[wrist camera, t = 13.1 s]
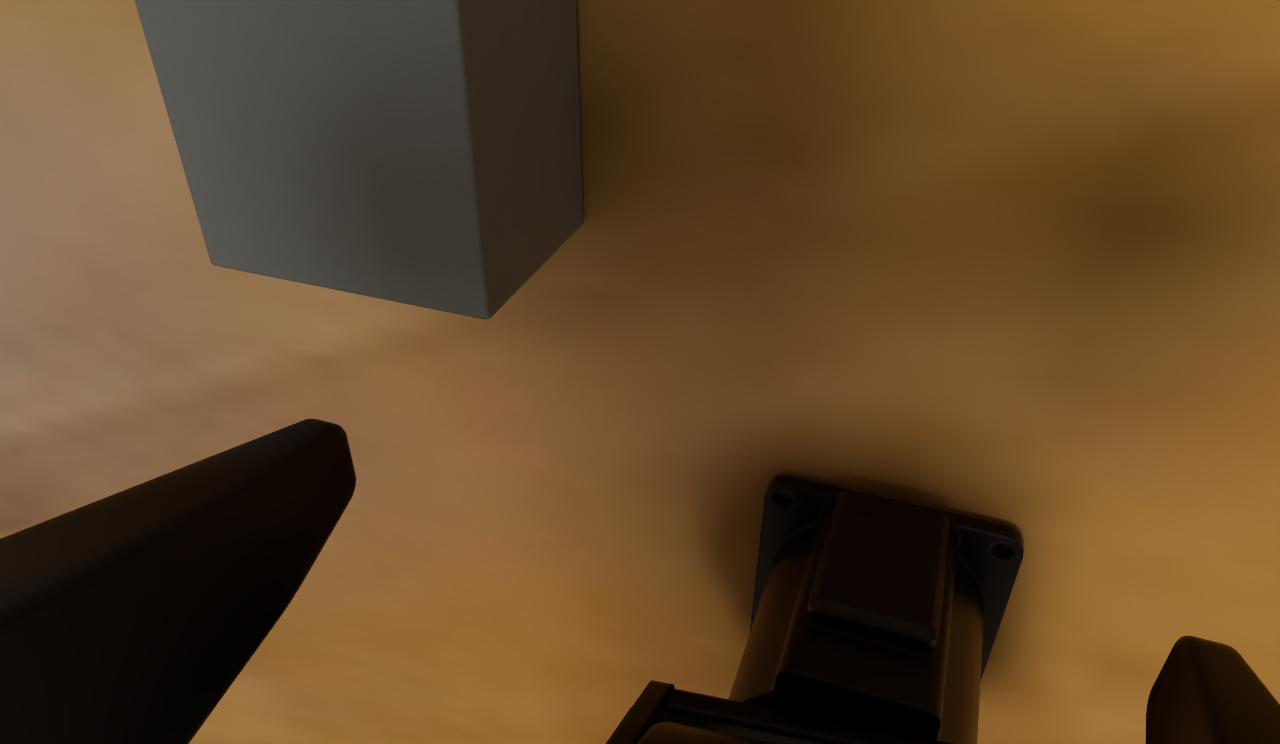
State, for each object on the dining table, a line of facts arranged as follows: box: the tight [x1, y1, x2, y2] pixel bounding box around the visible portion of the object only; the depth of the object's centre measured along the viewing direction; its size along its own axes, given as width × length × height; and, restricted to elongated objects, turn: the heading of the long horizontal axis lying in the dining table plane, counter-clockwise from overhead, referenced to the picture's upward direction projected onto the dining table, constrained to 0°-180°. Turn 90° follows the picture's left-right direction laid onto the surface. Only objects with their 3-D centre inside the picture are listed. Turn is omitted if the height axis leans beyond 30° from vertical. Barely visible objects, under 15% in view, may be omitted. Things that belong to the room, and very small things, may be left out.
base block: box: [135, 0, 583, 319], centre depth 19 cm, size 7×7×5 cm
